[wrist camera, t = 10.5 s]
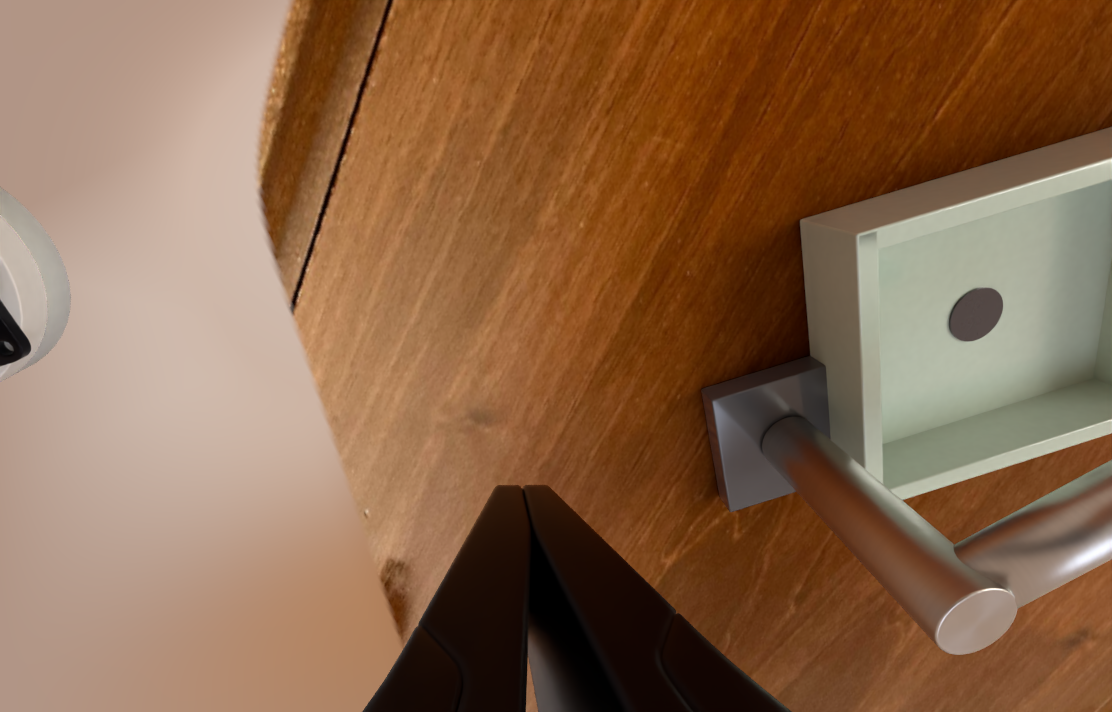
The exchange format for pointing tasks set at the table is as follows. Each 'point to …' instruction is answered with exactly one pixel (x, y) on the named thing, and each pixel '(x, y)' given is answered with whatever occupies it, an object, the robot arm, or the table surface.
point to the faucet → (930, 558)
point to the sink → (943, 329)
